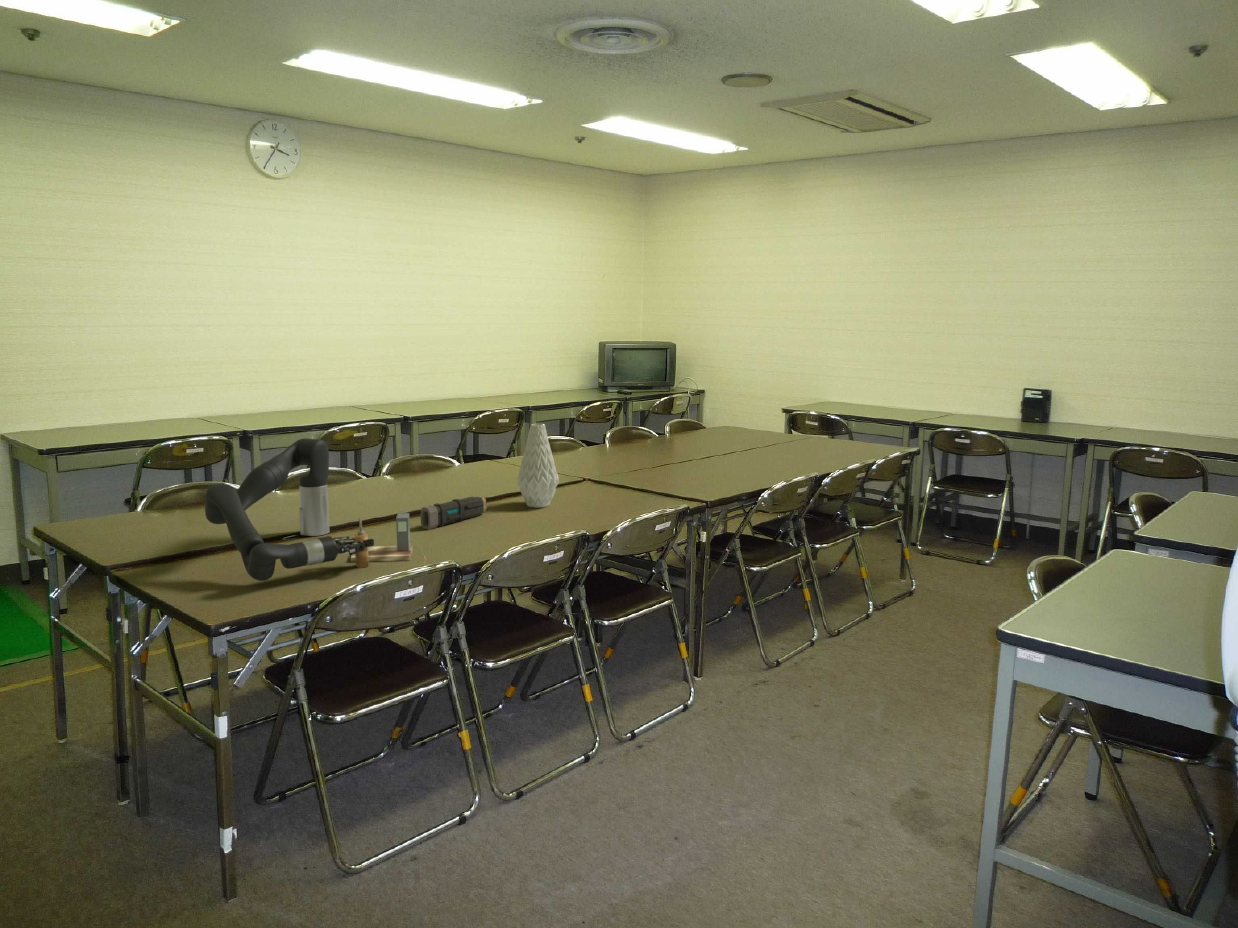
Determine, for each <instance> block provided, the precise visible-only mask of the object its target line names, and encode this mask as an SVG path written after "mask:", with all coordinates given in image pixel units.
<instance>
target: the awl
mask: <svg viewBox="0 0 1238 928" xmlns="http://www.w3.org/2000/svg"><path fill="white" fill-rule="evenodd" d="M358 520H359V526H358V527H359V530H358V531H357V533H355V534H354V538H355V541H362V540H367V539H369V537H368V533H366V532H365V531H364V530H363V524H362V523H363V522H362V521H363V520H362V517H361V518H360V517H359V519H358ZM355 558H356V562H355V567H356V568H360V569H361V568H362V569H363V568H368V567H369V562H368V547H366V548H364V551H362V552H359V553H356V554H355Z"/></svg>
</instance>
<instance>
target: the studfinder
mask: <svg viewBox="0 0 1238 928" xmlns="http://www.w3.org/2000/svg"><path fill="white" fill-rule="evenodd" d="M410 521H411V520H410V513H409V512H403V513H402V512H400V513H397V515H396V518H395V522H396V523H395V524H396V546H397V551H409V549H410V545H411V524H410Z"/></svg>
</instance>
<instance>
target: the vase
mask: <svg viewBox="0 0 1238 928" xmlns="http://www.w3.org/2000/svg"><path fill="white" fill-rule="evenodd" d="M547 431H548V430H547V429H546V424H544V423H531V424H530V427H529V432H528V435H527V439H526V444H525V448H524V452H523V455H522V456H523V457H522V459H521V464H520V468H519V471H518V476H517V480H516V484H517V485H518V486H519V490H520V493H521V495H522V496H521V497H522V498H523V500H524V502H525V504H526V506H527V507H529V508H535V509H536V508H545V507H548V506H550V504H551V501H552V500H553V498H554V495H555V493H556V491H557V487H558V485H559V483H560V480H559V474H558V472H557V469H556V468H557V467H556V465H555V459H554V457H553V452H552V449H551V445H550V442H549V437H548V432H547Z"/></svg>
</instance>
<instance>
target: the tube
mask: <svg viewBox="0 0 1238 928" xmlns="http://www.w3.org/2000/svg"><path fill="white" fill-rule="evenodd" d="M486 511H487V499H486V497H484V496H481V497H480V496H469V497H463V498H460V499H459V498H454V499H452V500H450V501H448V502H442V503H434V504H433V505H426V506H422V508H421V510H420V525H421V527H422V529H424V530H427V531H428V530H433V529H436V528H437V527H440V528H441V527H444V526H445V525H449V524H452V523H453V524H454V523H457V522H458V523H461V522H463V521H464V520H468V519H473V518H475V517H478V516H480V515H482V514H483V513H484V512H486Z"/></svg>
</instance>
